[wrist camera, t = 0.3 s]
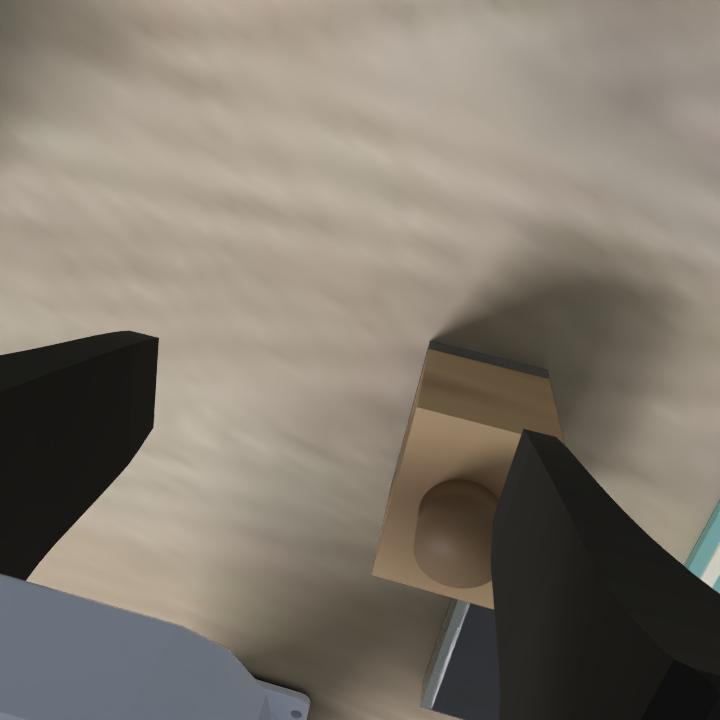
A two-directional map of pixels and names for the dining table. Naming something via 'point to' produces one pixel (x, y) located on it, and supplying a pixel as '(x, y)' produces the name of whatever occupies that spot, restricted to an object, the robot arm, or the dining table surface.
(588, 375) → the dining table surface
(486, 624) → the ink pad
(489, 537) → the hand stamp
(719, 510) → the marked card
